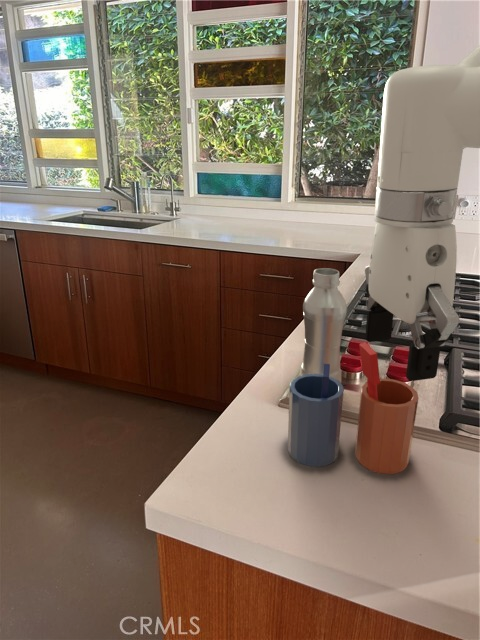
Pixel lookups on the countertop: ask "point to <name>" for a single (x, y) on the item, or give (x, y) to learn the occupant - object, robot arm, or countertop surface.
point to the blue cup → (314, 420)
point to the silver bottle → (323, 324)
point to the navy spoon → (325, 381)
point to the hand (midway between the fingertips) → (397, 357)
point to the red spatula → (370, 368)
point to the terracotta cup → (386, 426)
